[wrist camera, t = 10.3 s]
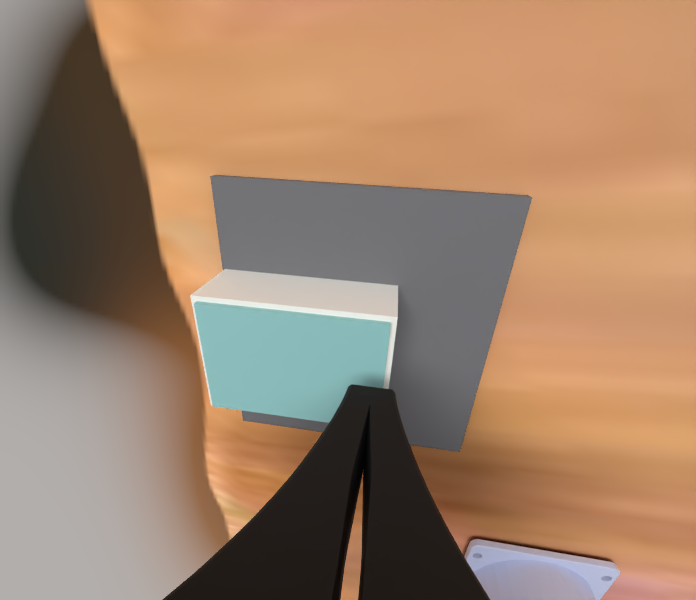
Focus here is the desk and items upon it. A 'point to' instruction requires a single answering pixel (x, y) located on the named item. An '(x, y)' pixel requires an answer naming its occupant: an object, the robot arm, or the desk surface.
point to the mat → (389, 276)
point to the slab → (293, 341)
